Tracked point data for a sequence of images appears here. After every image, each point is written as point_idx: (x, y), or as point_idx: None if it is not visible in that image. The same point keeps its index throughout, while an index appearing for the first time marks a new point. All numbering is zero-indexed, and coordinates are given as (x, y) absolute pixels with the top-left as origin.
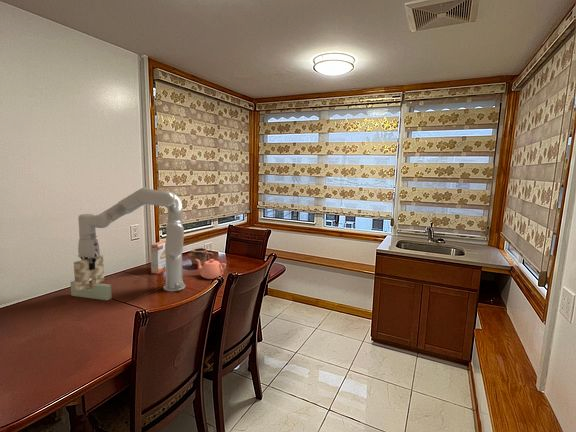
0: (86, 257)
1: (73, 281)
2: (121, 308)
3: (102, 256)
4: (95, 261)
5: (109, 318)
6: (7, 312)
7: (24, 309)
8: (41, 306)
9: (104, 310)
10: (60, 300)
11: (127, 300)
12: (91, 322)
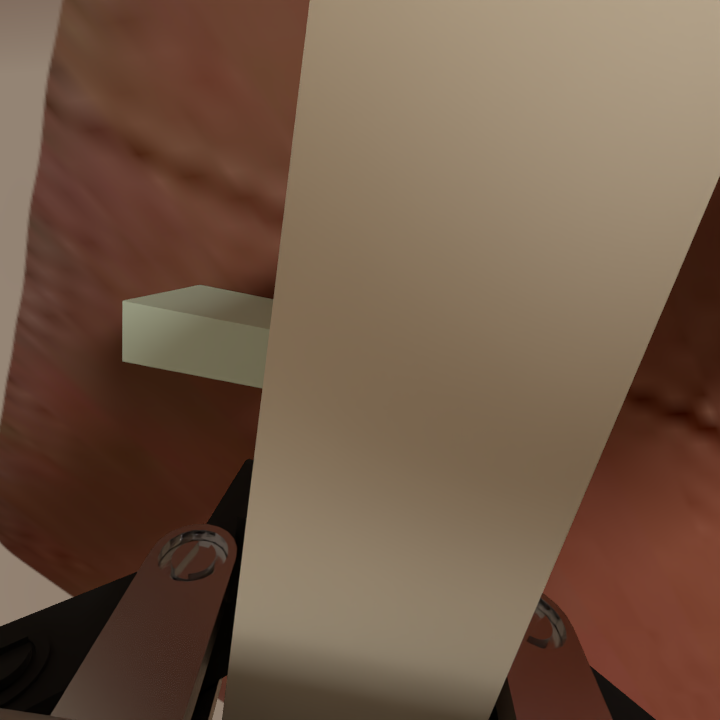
0: (122, 710)
1: (141, 344)
2: (696, 505)
3: (698, 105)
4: (557, 626)
5: (669, 617)
6: (62, 578)
7: (109, 545)
8: (164, 506)
9: (592, 535)
10: (197, 418)
11: (696, 381)
12: (589, 654)
